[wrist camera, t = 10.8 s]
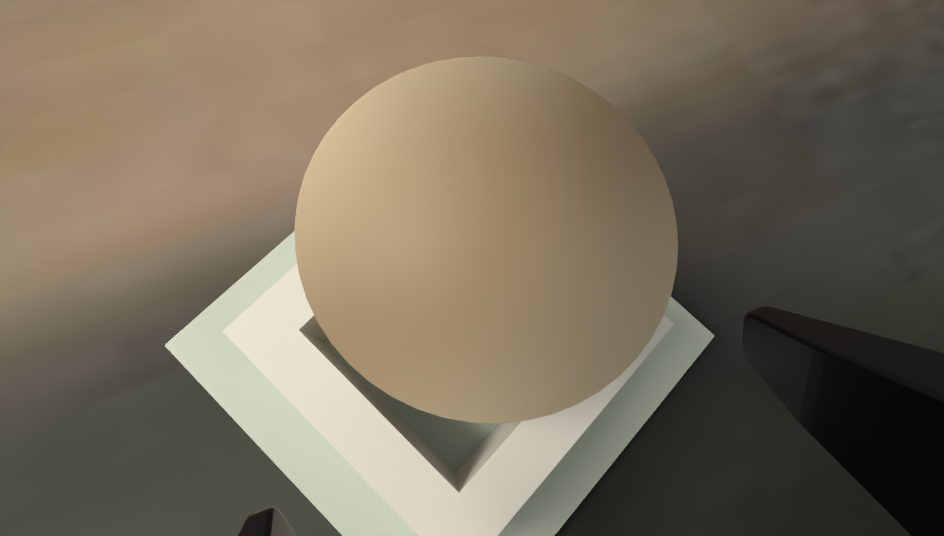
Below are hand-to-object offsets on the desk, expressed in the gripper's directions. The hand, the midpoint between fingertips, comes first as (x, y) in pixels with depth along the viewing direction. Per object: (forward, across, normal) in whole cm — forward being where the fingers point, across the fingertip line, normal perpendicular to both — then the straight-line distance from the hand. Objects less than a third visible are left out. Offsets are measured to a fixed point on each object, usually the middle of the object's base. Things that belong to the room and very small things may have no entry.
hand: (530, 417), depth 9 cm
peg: (+8, 0, +5) cm, 9 cm away
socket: (+9, 0, +5) cm, 10 cm away
